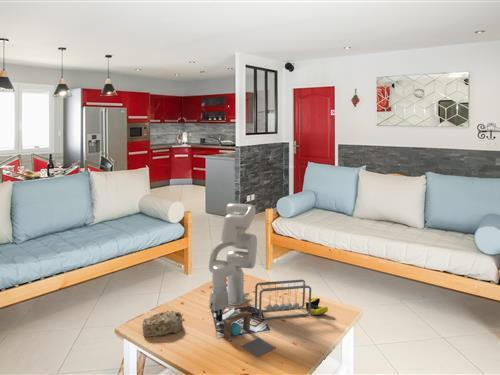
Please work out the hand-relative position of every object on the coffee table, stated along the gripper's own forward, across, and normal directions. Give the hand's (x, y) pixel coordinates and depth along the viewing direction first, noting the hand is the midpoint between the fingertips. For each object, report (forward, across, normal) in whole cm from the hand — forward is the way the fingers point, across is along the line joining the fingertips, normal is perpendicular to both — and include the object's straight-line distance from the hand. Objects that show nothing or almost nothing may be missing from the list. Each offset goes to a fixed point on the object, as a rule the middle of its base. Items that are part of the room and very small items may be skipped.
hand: (219, 320), depth 221 cm
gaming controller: (+2, -51, +24) cm, 57 cm away
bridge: (+2, 0, +15) cm, 15 cm away
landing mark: (+2, 0, +31) cm, 31 cm away
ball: (-2, +1, +15) cm, 15 cm away
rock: (+2, +26, -14) cm, 30 cm away
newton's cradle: (+2, -34, +14) cm, 37 cm away
